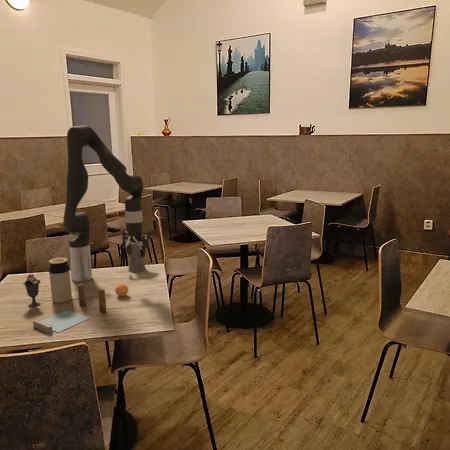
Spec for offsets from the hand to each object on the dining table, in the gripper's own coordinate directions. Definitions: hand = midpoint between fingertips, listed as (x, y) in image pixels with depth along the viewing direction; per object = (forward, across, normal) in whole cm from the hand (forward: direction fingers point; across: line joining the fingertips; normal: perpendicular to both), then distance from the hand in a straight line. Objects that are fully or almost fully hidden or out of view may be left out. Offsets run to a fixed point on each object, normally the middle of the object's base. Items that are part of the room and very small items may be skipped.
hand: (136, 255), depth 190 cm
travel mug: (+16, -19, -27) cm, 37 cm away
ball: (+13, 0, -10) cm, 16 cm away
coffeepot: (+16, -22, +19) cm, 34 cm away
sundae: (+16, -24, -37) cm, 47 cm away
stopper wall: (+16, 0, -48) cm, 51 cm away
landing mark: (+16, 0, -40) cm, 43 cm away
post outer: (+16, +6, -26) cm, 31 cm away
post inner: (+16, -6, -26) cm, 31 cm away
